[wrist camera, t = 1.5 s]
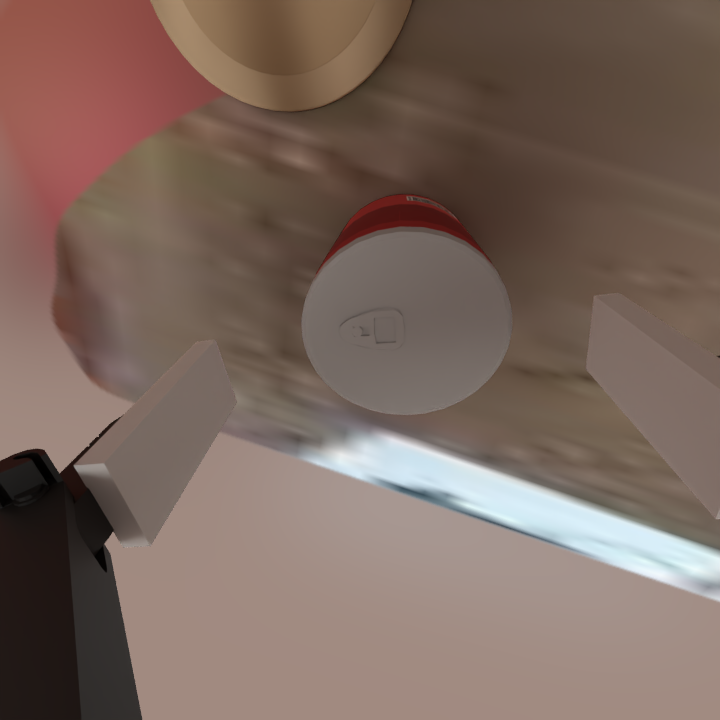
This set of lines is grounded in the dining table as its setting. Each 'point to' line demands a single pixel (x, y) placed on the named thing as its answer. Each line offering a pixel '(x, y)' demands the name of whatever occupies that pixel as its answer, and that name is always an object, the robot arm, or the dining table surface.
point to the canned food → (406, 310)
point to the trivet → (284, 45)
